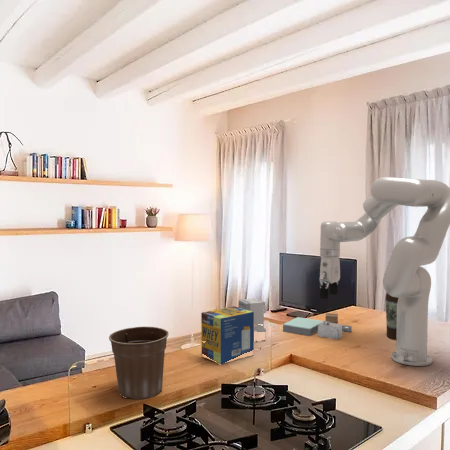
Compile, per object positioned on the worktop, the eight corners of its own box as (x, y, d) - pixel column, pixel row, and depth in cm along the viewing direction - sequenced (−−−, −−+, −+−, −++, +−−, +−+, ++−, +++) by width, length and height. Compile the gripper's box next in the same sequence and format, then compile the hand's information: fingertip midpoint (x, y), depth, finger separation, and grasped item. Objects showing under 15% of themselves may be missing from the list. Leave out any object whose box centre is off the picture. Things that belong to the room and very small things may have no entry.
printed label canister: (397, 331, 185) (397, 270, 184) (420, 338, 176) (420, 274, 175) (379, 335, 180) (379, 273, 179) (402, 342, 171) (403, 276, 170)
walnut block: (337, 328, 192) (337, 316, 192) (325, 327, 193) (325, 315, 193) (337, 325, 197) (337, 313, 196) (325, 324, 198) (326, 313, 198)
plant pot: (124, 409, 116) (123, 346, 115) (101, 388, 129) (100, 332, 129) (179, 393, 126) (179, 335, 125) (152, 375, 139) (152, 323, 138)
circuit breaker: (224, 339, 176) (223, 301, 175) (257, 335, 181) (257, 298, 180) (231, 345, 169) (231, 305, 168) (265, 340, 174) (265, 302, 173)
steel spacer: (350, 333, 184) (350, 328, 184) (340, 331, 186) (340, 326, 186) (352, 331, 188) (353, 326, 188) (343, 329, 190) (343, 324, 190)
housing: (337, 340, 175) (337, 325, 175) (317, 336, 180) (318, 322, 180) (342, 336, 179) (342, 322, 179) (322, 333, 184) (322, 319, 184)
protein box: (200, 357, 156) (200, 312, 155) (234, 348, 165) (234, 305, 165) (220, 365, 148) (220, 318, 147) (254, 355, 157) (254, 310, 157)
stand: (310, 336, 180) (310, 328, 180) (282, 331, 187) (282, 324, 187) (323, 328, 192) (323, 321, 191) (297, 323, 198) (297, 317, 198)
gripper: (330, 256, 169) (329, 301, 170) (346, 251, 183) (345, 293, 184) (311, 254, 173) (311, 299, 174) (329, 250, 188) (328, 291, 189)
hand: (329, 296), depth 179 cm, fingers open, 9 cm apart
